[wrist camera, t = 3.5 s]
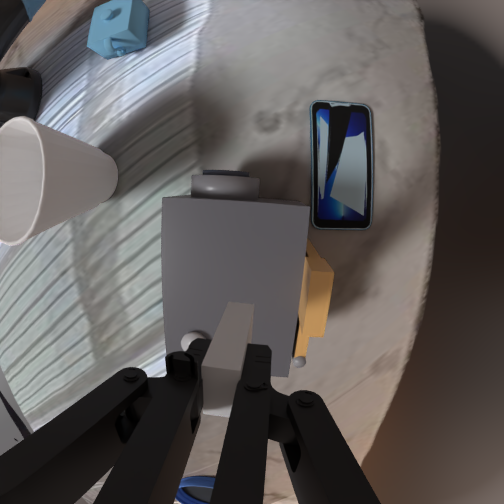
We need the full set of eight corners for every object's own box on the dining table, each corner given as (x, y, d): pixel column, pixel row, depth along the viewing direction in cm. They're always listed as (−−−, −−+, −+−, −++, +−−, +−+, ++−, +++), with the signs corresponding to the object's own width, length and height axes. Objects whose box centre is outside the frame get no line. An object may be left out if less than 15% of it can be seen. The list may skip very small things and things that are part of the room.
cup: (146, 143, 31) (61, 120, 16) (122, 233, 34) (36, 265, 18) (79, 129, 31) (-6, 113, 16) (60, 209, 34) (-24, 226, 18)
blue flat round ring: (165, 487, 48) (162, 497, 45) (194, 465, 44) (191, 477, 41) (228, 510, 49) (227, 520, 46) (267, 491, 45) (267, 503, 42)
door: (296, 236, 32) (311, 270, 19) (309, 237, 32) (334, 272, 19) (286, 320, 34) (291, 392, 21) (299, 321, 34) (310, 393, 21)
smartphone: (311, 229, 32) (309, 99, 28) (309, 227, 33) (308, 102, 29) (371, 230, 31) (370, 105, 27) (369, 228, 32) (368, 107, 28)
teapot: (118, 10, 26) (94, -11, 19) (153, -2, 26) (134, -28, 19) (109, 70, 29) (80, 52, 22) (148, 58, 29) (122, 35, 21)
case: (195, 172, 32) (161, 167, 21) (300, 179, 31) (313, 174, 20) (192, 320, 36) (165, 365, 25) (285, 329, 35) (288, 380, 25)
